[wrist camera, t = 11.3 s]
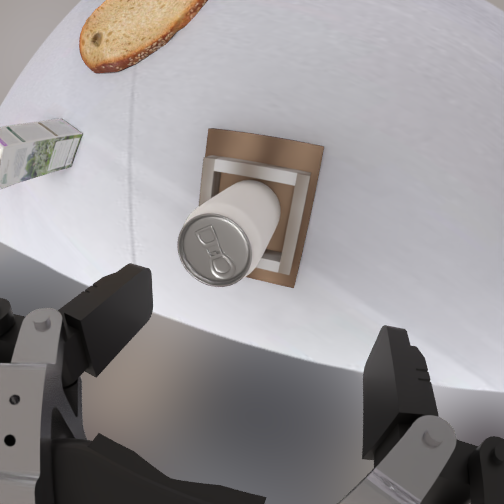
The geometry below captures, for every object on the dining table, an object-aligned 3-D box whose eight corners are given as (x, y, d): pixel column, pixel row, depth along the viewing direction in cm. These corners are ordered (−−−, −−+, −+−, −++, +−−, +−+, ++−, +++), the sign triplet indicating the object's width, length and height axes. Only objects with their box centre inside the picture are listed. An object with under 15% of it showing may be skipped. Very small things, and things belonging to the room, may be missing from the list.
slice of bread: (228, -46, 22) (218, -60, 19) (190, 78, 30) (176, 74, 27) (112, -33, 24) (97, -41, 21) (80, 73, 32) (62, 72, 28)
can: (237, 245, 34) (197, 301, 24) (212, 193, 33) (157, 227, 22) (291, 226, 32) (272, 278, 21) (266, 169, 30) (233, 192, 20)
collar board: (323, 146, 30) (324, 148, 26) (295, 282, 36) (291, 299, 33) (213, 128, 31) (199, 128, 28) (199, 259, 38) (187, 273, 34)
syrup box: (61, 117, 35) (-19, 128, 22) (84, 133, 35) (0, 149, 22) (50, 150, 37) (-25, 170, 24) (72, 168, 37) (-7, 193, 24)
